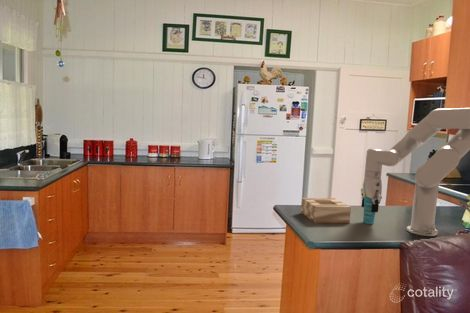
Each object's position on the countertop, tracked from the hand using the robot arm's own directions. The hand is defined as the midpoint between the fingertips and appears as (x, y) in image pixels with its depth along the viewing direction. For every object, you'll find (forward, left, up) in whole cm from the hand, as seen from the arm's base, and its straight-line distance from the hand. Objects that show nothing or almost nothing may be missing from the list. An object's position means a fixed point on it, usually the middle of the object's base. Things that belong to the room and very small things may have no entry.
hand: (369, 209), depth 184 cm
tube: (0, 0, -7) cm, 7 cm away
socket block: (+9, +19, -7) cm, 22 cm away
